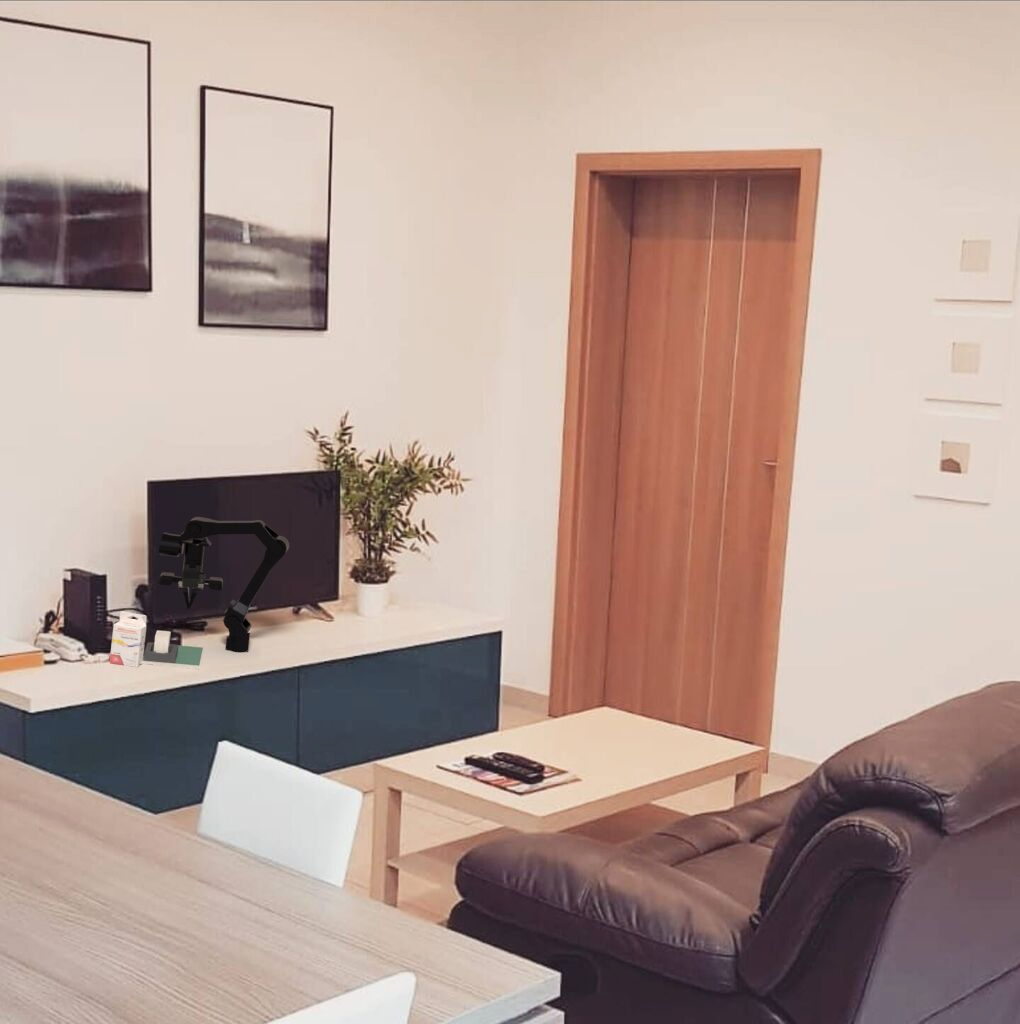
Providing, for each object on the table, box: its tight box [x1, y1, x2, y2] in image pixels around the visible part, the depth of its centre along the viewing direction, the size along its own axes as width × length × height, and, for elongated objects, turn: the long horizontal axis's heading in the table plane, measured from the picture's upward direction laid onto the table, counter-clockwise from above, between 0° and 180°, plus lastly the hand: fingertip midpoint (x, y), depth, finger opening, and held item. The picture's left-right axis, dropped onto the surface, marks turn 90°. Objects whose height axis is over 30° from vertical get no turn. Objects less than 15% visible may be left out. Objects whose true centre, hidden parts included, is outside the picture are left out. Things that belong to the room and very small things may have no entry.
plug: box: [153, 630, 171, 653], centre depth 451 cm, size 4×7×7 cm, turn 8°
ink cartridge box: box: [109, 610, 148, 668], centre depth 443 cm, size 9×5×15 cm, turn 85°
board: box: [143, 642, 204, 667], centre depth 457 cm, size 16×20×4 cm
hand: (188, 608), depth 468 cm, fingers closed
